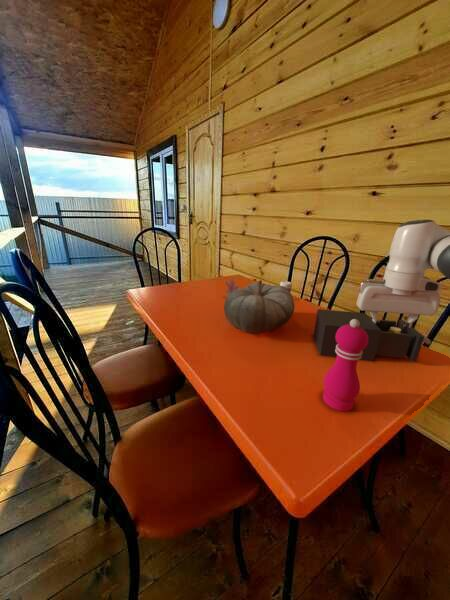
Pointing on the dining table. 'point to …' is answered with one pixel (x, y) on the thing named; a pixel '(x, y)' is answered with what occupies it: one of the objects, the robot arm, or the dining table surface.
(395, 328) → the watch
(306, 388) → the dining table surface
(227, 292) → the lily
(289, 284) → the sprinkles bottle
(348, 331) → the pepper mill
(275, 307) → the gourd
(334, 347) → the cabinet
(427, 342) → the drawer
